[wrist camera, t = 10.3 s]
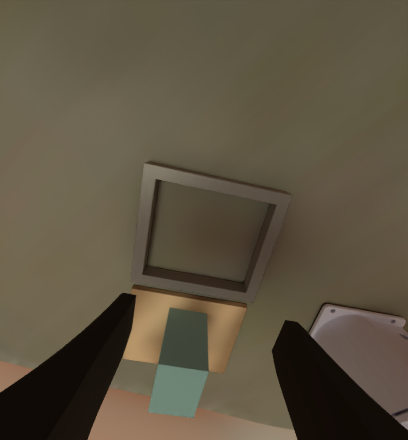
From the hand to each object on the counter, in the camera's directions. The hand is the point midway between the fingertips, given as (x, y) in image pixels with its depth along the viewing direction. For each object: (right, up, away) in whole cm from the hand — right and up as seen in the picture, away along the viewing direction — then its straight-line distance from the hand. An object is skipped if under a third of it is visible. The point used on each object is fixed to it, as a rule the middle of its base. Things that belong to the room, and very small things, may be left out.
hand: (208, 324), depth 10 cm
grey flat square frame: (0, +4, +10) cm, 10 cm away
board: (-3, -7, +14) cm, 16 cm away
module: (-2, -7, +13) cm, 15 cm away
